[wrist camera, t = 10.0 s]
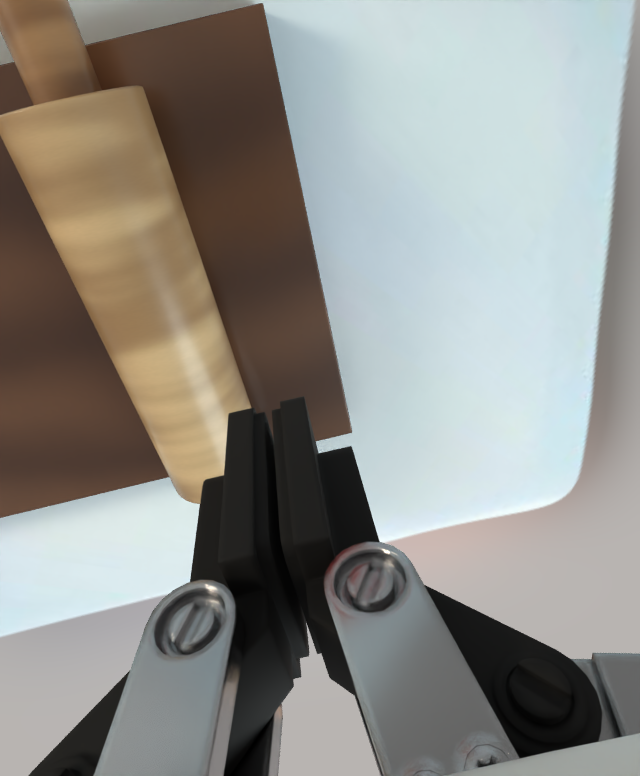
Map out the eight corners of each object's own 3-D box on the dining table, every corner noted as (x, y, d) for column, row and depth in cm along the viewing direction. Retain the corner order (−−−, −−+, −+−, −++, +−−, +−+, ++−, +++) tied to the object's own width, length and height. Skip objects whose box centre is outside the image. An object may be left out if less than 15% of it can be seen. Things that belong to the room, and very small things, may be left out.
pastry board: (-408, 168, 17) (-461, 174, 16) (261, 9, 17) (262, 2, 16) (-81, 520, 26) (-97, 541, 25) (347, 416, 26) (352, 432, 25)
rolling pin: (-33, -15, 15) (-130, -52, 11) (109, -48, 15) (62, -97, 11) (203, 499, 26) (196, 566, 22) (282, 480, 26) (288, 544, 22)
